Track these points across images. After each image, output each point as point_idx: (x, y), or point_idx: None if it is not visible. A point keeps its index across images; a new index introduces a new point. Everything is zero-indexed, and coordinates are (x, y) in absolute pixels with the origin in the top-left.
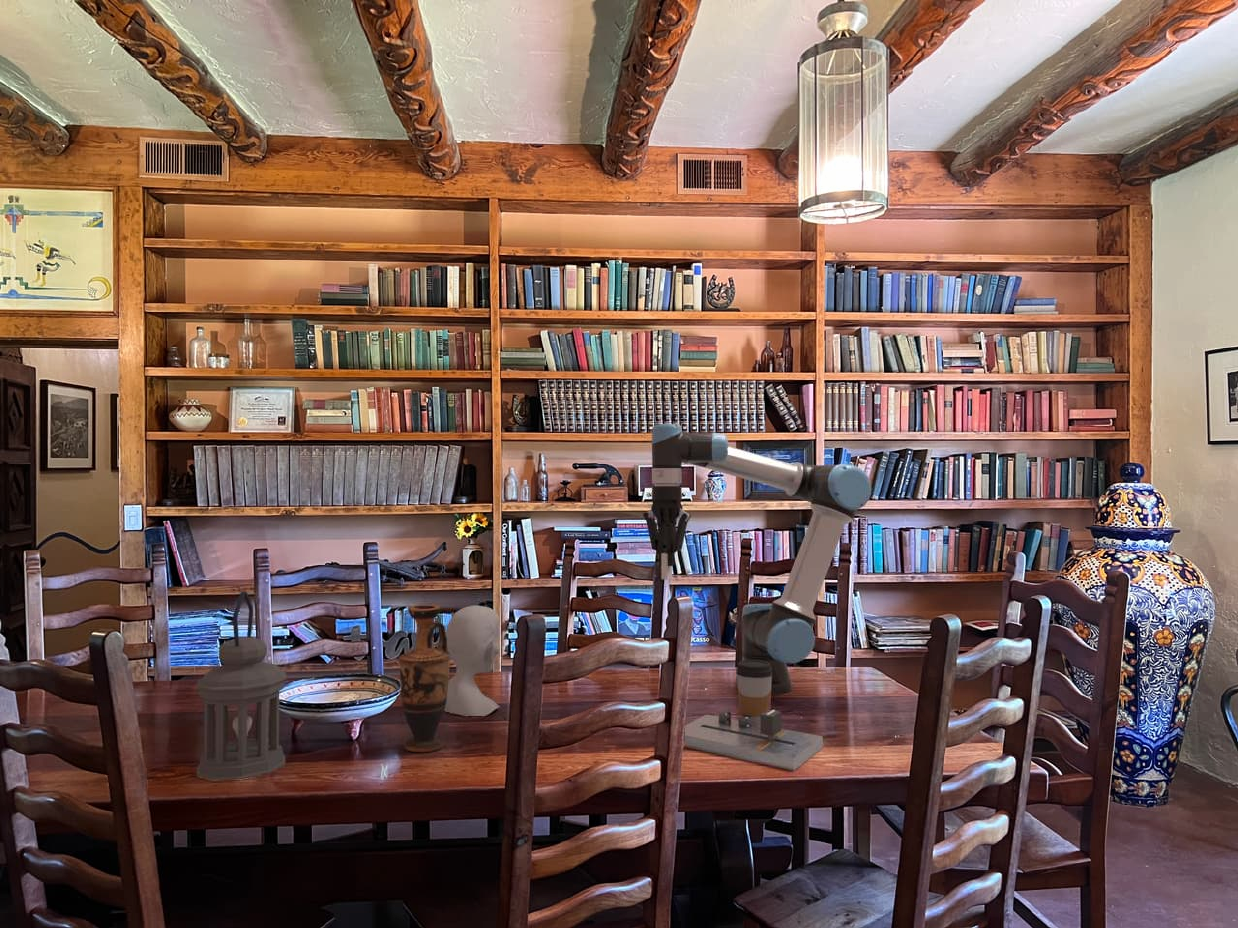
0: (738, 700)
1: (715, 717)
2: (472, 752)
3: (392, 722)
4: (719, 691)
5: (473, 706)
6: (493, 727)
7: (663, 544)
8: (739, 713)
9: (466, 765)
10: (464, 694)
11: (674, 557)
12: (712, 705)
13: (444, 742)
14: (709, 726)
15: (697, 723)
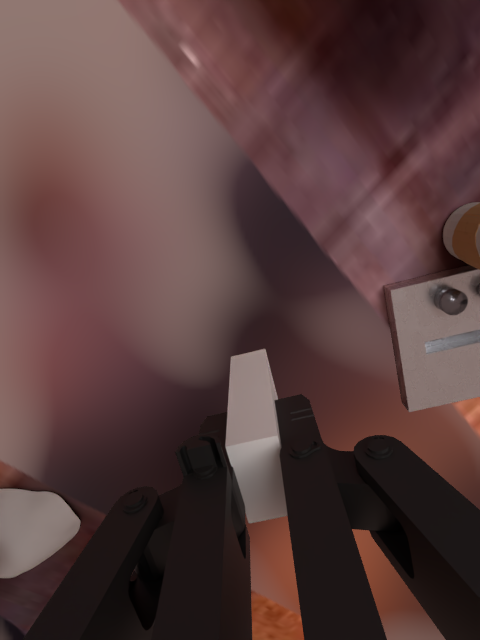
0: (468, 259)
1: (416, 291)
2: None
3: (28, 620)
4: (232, 47)
5: (58, 545)
6: None
7: (244, 562)
8: (458, 257)
9: (258, 628)
10: (32, 566)
11: (317, 427)
12: (303, 166)
13: None
14: (437, 338)
15: (412, 344)
